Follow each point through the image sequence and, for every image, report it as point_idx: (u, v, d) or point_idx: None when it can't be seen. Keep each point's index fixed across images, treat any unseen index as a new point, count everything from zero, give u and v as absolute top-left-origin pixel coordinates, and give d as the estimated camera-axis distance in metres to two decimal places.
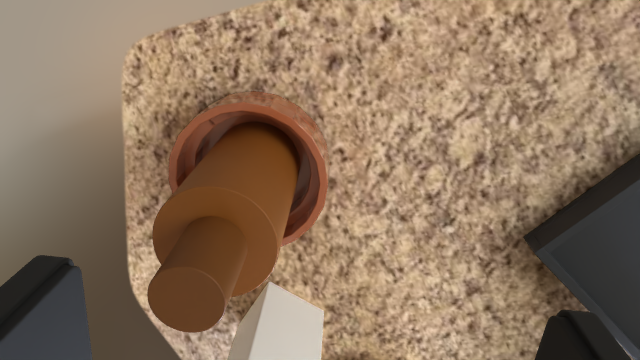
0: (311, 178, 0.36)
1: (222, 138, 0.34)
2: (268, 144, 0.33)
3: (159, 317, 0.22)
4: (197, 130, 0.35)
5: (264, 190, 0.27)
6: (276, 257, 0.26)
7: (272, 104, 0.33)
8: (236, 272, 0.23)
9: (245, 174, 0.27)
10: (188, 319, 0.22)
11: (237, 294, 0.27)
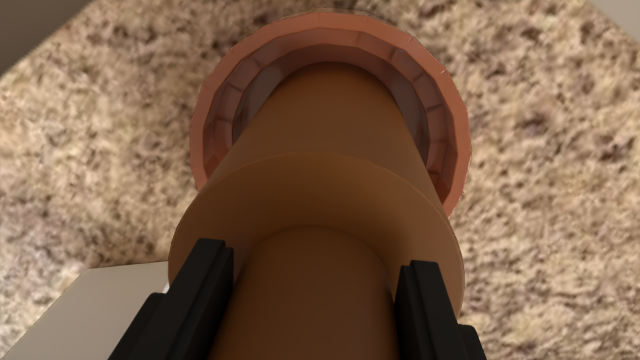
0: None
1: (356, 76, 0.19)
2: None
3: None
4: None
5: None
6: None
7: None
8: None
9: None
10: None
11: None
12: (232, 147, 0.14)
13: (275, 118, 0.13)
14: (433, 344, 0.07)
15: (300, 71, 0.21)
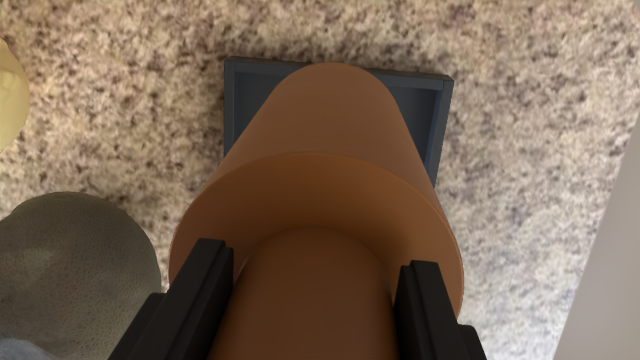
0: None
1: (355, 76, 0.19)
2: None
3: None
4: None
5: None
6: None
7: None
8: None
9: None
10: None
11: None
12: (232, 148, 0.14)
13: (275, 119, 0.13)
14: (433, 344, 0.07)
15: (300, 72, 0.21)
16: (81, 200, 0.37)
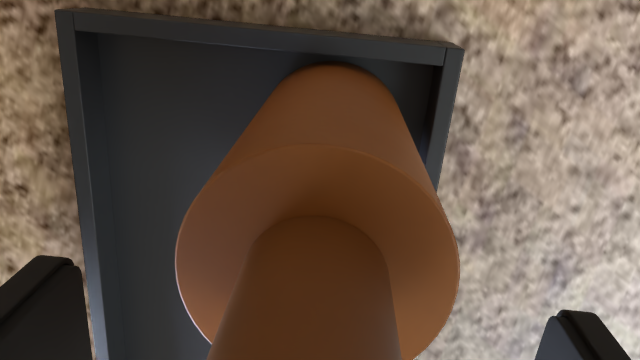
0: None
1: (355, 74, 0.20)
2: None
3: None
4: None
5: None
6: None
7: None
8: None
9: None
10: None
11: None
12: (236, 142, 0.14)
13: (277, 114, 0.14)
14: None
15: (301, 70, 0.21)
16: None
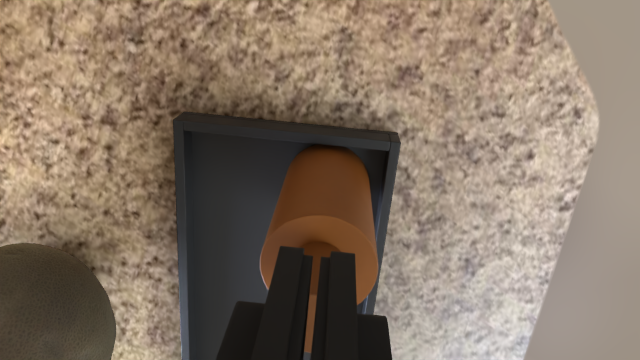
0: None
1: (340, 157, 0.36)
2: None
3: None
4: None
5: None
6: None
7: None
8: None
9: (374, 233, 0.29)
10: None
11: None
12: (281, 205, 0.30)
13: (301, 192, 0.30)
14: (326, 332, 0.07)
15: (310, 151, 0.37)
16: (32, 255, 0.37)
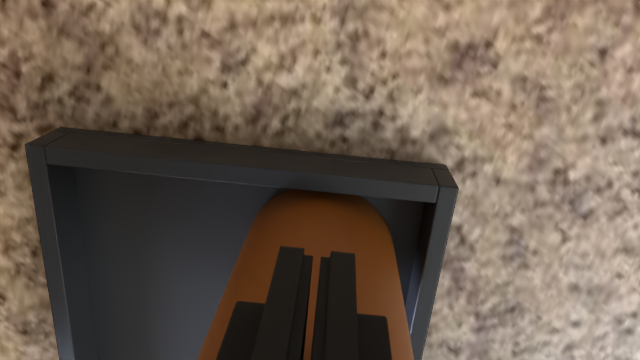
0: None
1: (343, 217, 0.18)
2: None
3: None
4: None
5: None
6: None
7: None
8: None
9: None
10: None
11: None
12: (207, 353, 0.13)
13: None
14: (326, 332, 0.07)
15: (286, 201, 0.20)
16: None
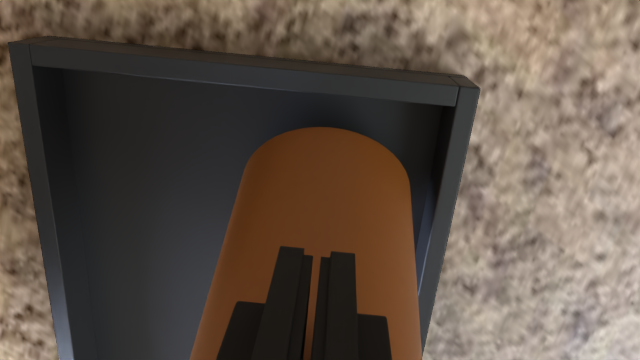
0: None
1: (350, 187, 0.15)
2: None
3: None
4: None
5: None
6: None
7: None
8: None
9: None
10: None
11: None
12: None
13: None
14: (326, 332, 0.07)
15: (283, 154, 0.17)
16: None
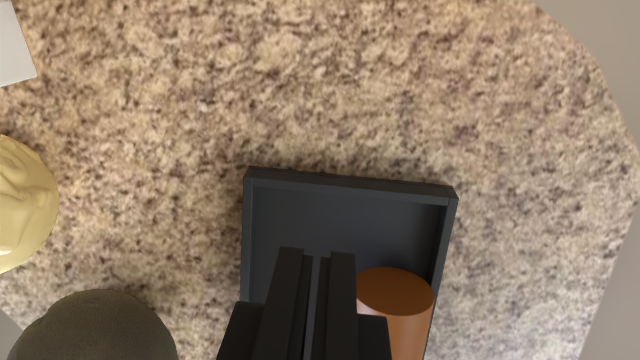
0: None
1: (412, 343, 0.38)
2: None
3: None
4: None
5: None
6: None
7: None
8: None
9: None
10: None
11: None
12: None
13: None
14: (326, 332, 0.07)
15: None
16: (108, 304, 0.39)
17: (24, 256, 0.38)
